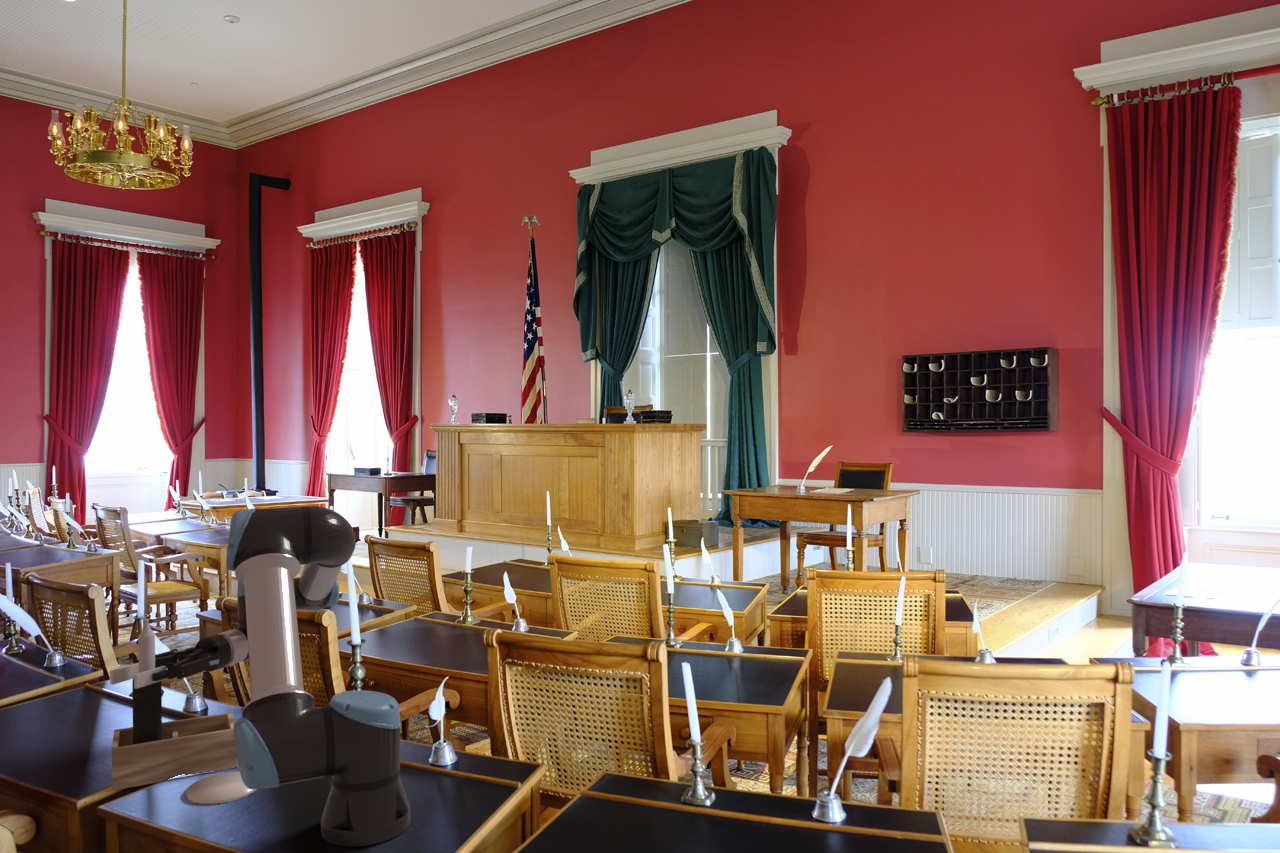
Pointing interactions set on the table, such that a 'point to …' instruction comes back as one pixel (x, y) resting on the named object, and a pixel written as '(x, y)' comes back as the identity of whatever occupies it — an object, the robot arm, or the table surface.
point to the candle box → (174, 751)
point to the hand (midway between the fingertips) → (123, 679)
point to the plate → (218, 789)
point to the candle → (147, 694)
